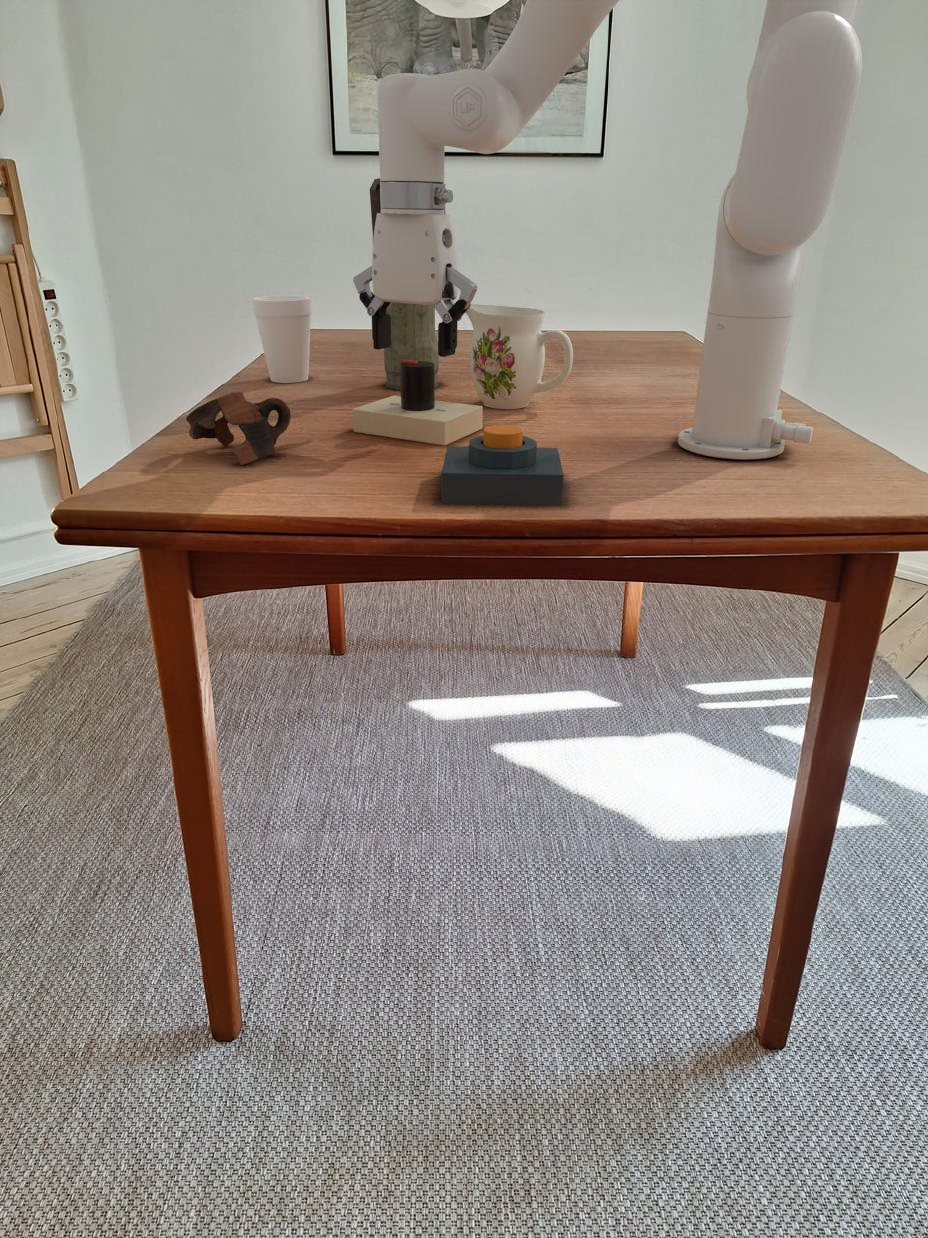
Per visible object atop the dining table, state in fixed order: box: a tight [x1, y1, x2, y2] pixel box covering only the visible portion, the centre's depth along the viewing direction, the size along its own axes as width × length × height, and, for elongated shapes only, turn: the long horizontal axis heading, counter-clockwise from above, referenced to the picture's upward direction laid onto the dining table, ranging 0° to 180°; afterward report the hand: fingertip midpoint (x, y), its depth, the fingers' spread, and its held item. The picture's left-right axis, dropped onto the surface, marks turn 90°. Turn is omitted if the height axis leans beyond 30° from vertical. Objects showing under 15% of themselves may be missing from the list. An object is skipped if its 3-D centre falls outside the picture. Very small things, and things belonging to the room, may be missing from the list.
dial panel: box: [351, 394, 484, 446], centre depth 107 cm, size 14×10×3 cm
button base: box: [440, 435, 564, 506], centre depth 84 cm, size 12×10×5 cm
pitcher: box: [464, 303, 574, 410], centre depth 118 cm, size 11×18×14 cm, turn 65°
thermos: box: [369, 177, 446, 391], centre depth 127 cm, size 9×12×35 cm
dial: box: [400, 360, 436, 411], centre depth 105 cm, size 4×4×6 cm
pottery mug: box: [185, 391, 292, 466], centre depth 97 cm, size 12×10×8 cm
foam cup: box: [251, 294, 313, 384], centre depth 136 cm, size 10×9×13 cm
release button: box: [482, 424, 524, 448], centre depth 83 cm, size 4×4×2 cm
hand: (414, 351), depth 103 cm, fingers open, 9 cm apart
